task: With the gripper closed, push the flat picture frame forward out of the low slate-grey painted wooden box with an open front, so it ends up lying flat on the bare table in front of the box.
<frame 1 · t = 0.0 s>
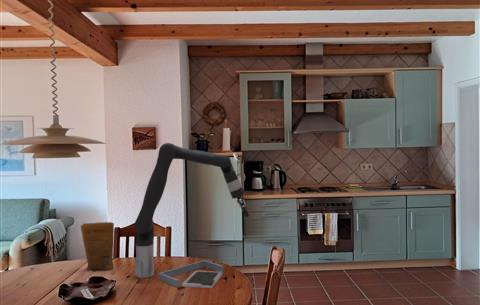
hand: (246, 215, 216), 31 cm above the table, tool tilted 20°, fingers open, 8 cm apart
open-front box: (192, 275, 210), on the table
picture frame: (203, 281, 203), on the table
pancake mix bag: (99, 270, 224), on the table
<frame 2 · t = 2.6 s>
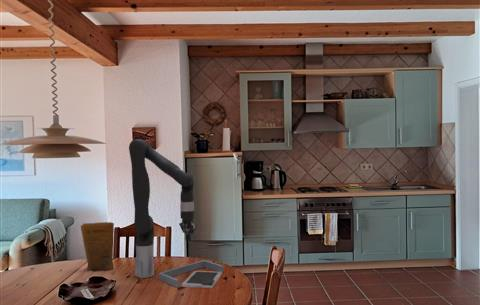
hand: (188, 241, 212), 19 cm above the table, tool pointing down, fingers closed
nothing on the table moved.
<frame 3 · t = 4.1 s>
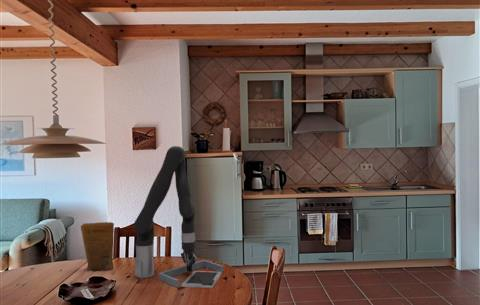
hand: (189, 271, 212), 2 cm above the table, tool pointing down, fingers closed
nothing on the table moved.
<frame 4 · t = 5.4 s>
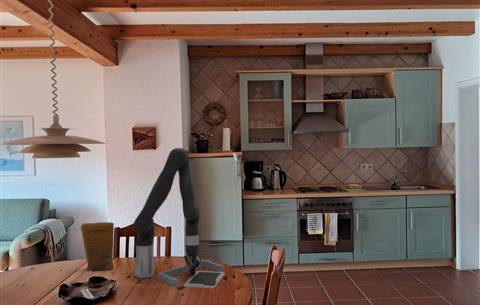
hand: (192, 274, 210), 1 cm above the table, tool pointing down, fingers closed
picture frame: (205, 282, 203), on the table, touching gripper
everything else where it was.
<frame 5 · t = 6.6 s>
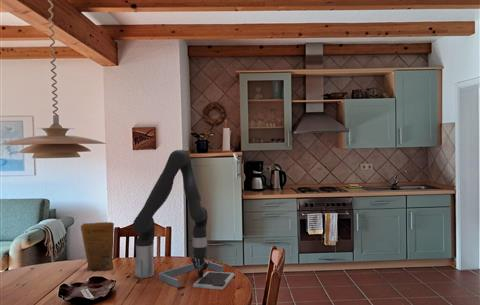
hand: (200, 277, 205), 1 cm above the table, tool pointing down, fingers closed
picture frame: (214, 282, 201), on the table
everything else where it was.
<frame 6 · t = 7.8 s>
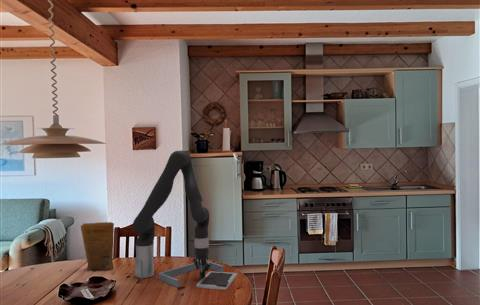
hand: (202, 278, 204), 1 cm above the table, tool pointing down, fingers closed
picture frame: (217, 282, 201), on the table
everything else where it was.
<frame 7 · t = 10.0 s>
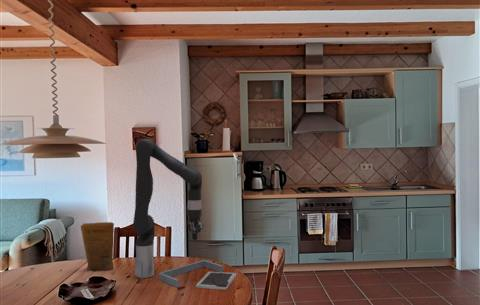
hand: (194, 239, 209), 20 cm above the table, tool pointing down, fingers closed
nothing on the table moved.
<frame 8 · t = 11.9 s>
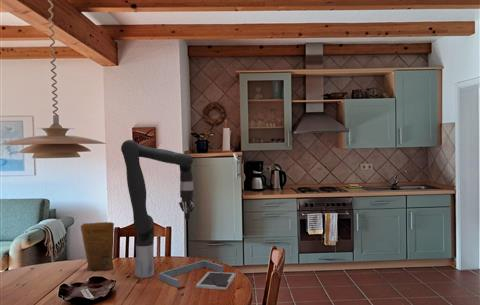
hand: (187, 219, 220), 29 cm above the table, tool pointing down, fingers closed
nothing on the table moved.
at the end: picture frame inside the target area (4.7 cm from its centre), on the table; picture frame touching table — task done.
